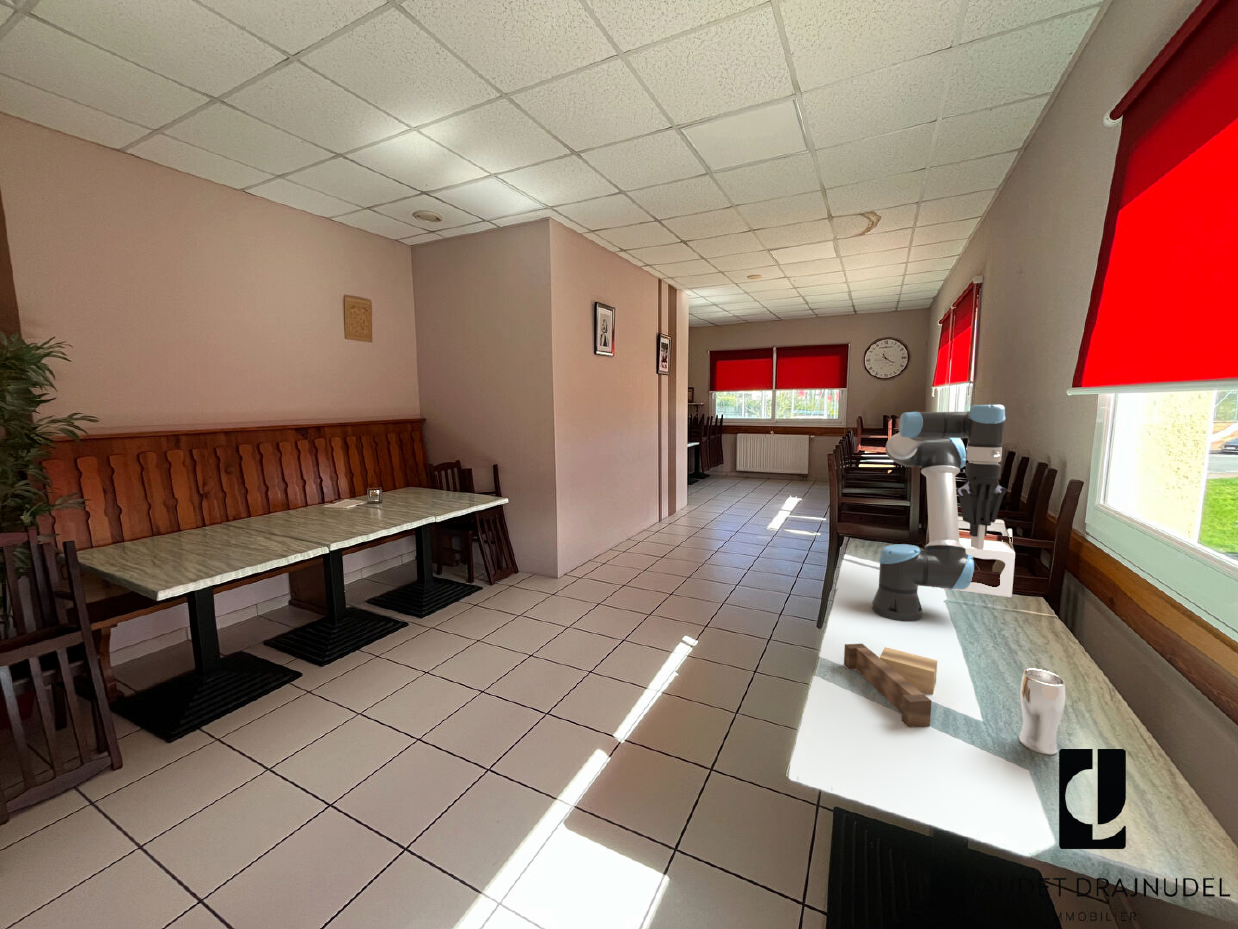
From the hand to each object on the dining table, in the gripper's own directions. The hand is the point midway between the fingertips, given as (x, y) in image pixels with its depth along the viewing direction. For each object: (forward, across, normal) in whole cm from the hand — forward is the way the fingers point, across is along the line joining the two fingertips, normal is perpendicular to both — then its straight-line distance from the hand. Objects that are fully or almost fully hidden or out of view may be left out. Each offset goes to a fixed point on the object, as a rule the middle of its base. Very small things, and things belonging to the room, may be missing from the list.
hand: (976, 547), depth 133 cm
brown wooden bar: (+32, -33, -14) cm, 48 cm away
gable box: (+33, +45, +52) cm, 76 cm away
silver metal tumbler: (+32, -14, -35) cm, 49 cm away
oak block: (+32, -25, -9) cm, 41 cm away
